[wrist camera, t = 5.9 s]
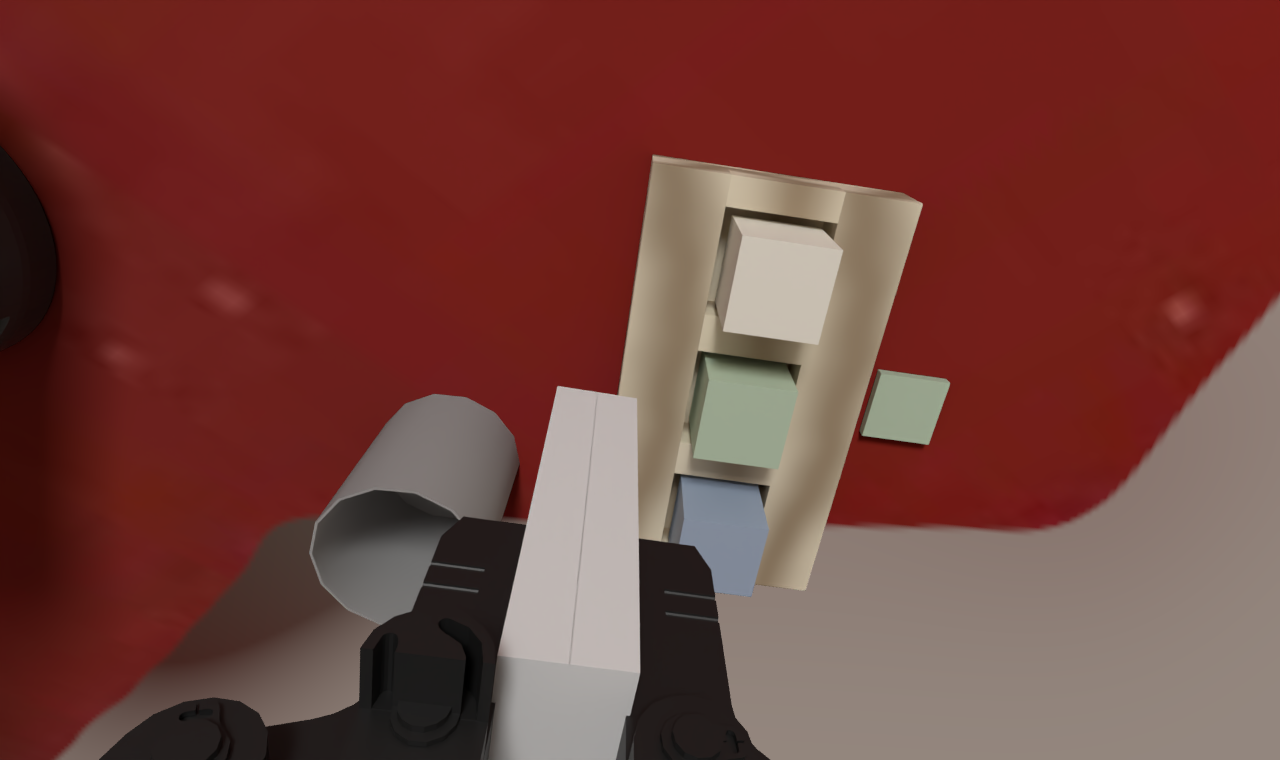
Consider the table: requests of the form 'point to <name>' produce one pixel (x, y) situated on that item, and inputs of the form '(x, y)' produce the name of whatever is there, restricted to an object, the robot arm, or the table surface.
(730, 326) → the button cream
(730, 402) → the button sage
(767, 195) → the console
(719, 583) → the button blue
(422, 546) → the cup
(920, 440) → the tile
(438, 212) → the table surface
